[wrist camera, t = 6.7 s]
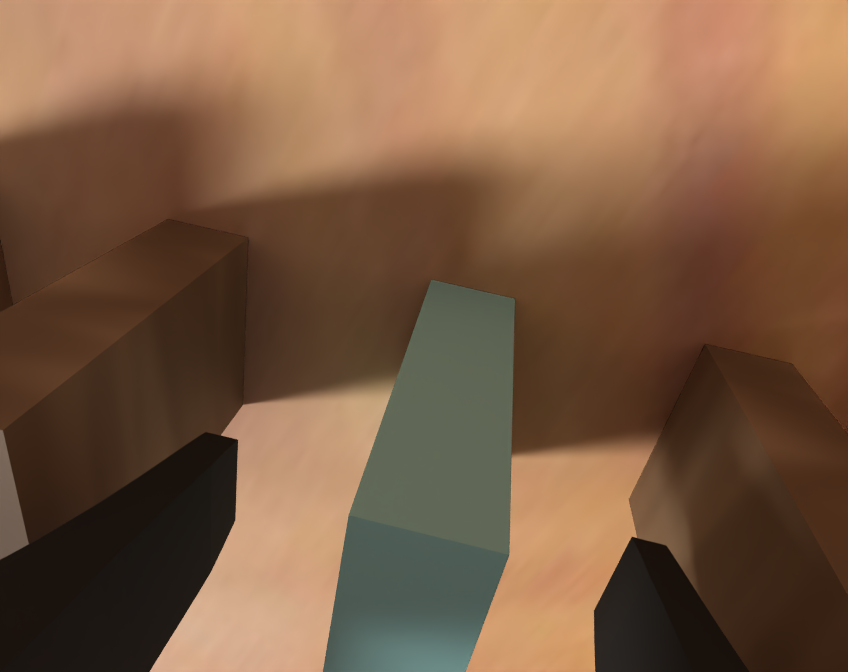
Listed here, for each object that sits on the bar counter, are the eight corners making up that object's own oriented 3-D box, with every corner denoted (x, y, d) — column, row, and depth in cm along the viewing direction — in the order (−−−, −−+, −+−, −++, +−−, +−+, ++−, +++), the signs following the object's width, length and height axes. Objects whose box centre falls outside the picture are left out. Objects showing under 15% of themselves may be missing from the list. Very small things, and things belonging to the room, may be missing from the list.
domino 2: (514, 298, 14) (509, 555, 7) (468, 459, 16) (431, 761, 9) (431, 279, 14) (348, 515, 7) (397, 442, 16) (313, 730, 10)
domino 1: (248, 237, 14) (2, 430, 7) (242, 404, 16) (55, 661, 10) (168, 219, 14) (-146, 392, 7) (174, 388, 16) (-57, 631, 10)
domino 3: (792, 364, 13) (1051, 694, 7) (701, 517, 16) (829, 868, 9) (705, 343, 13) (878, 649, 7) (629, 499, 16) (703, 834, 9)
